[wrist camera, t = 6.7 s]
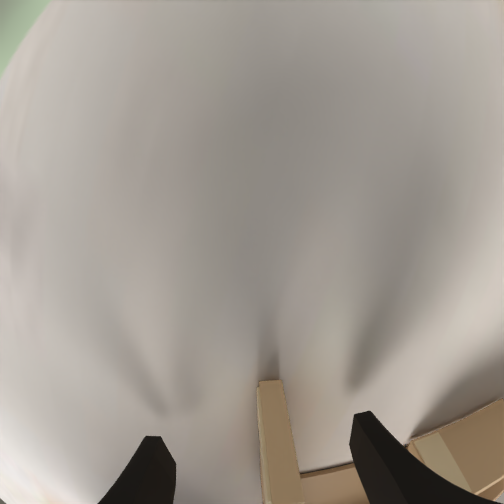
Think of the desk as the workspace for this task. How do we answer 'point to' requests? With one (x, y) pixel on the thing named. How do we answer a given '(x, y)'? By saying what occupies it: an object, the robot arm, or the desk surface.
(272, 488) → the flap
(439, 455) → the flap
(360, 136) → the desk surface
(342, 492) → the carton
